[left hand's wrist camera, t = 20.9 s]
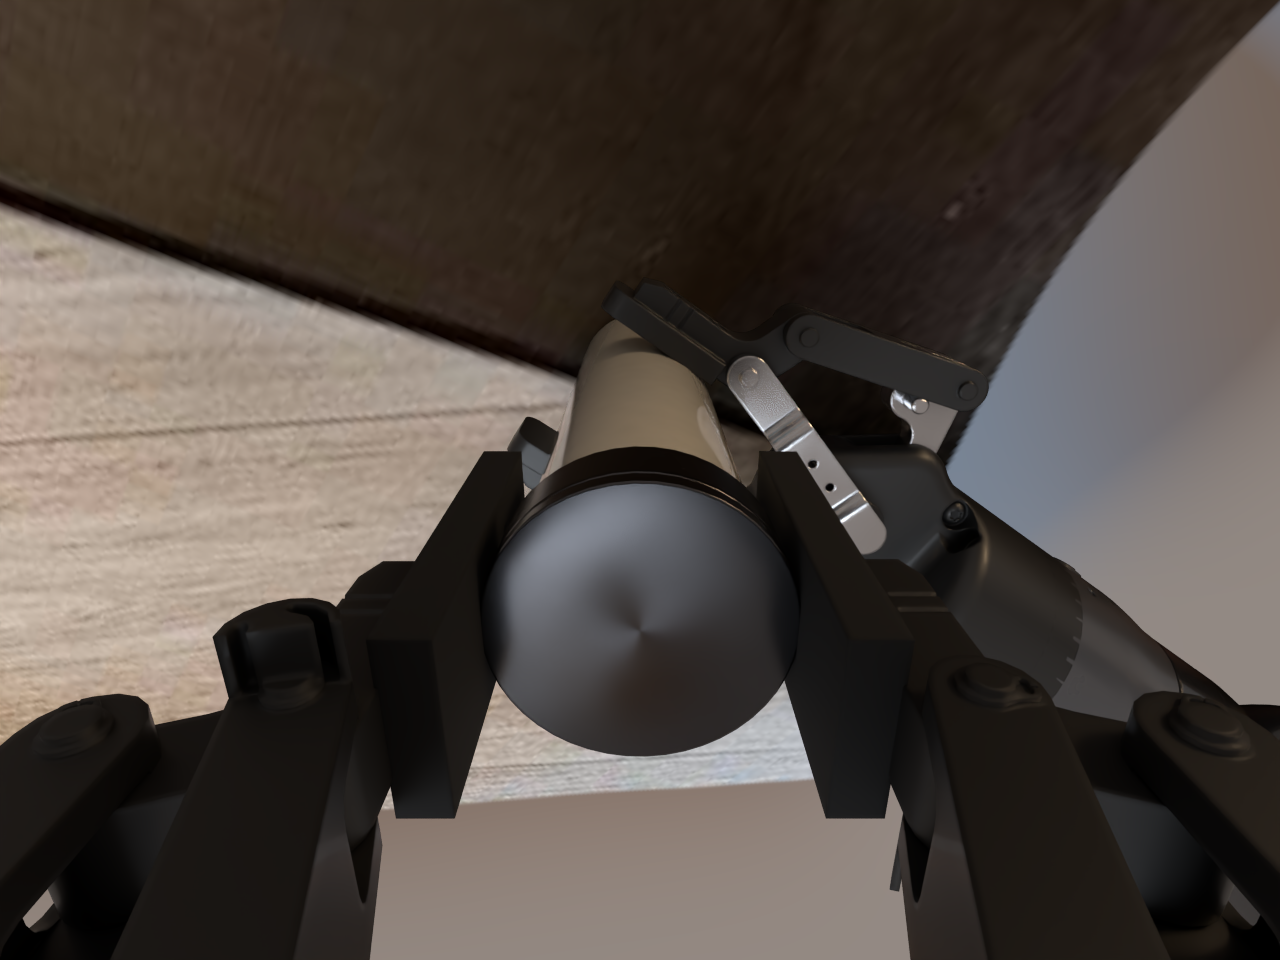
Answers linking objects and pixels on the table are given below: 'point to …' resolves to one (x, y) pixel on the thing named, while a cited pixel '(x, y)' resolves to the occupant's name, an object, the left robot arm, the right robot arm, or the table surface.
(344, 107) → the table surface
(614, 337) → the beige cylinder
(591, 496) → the lid
